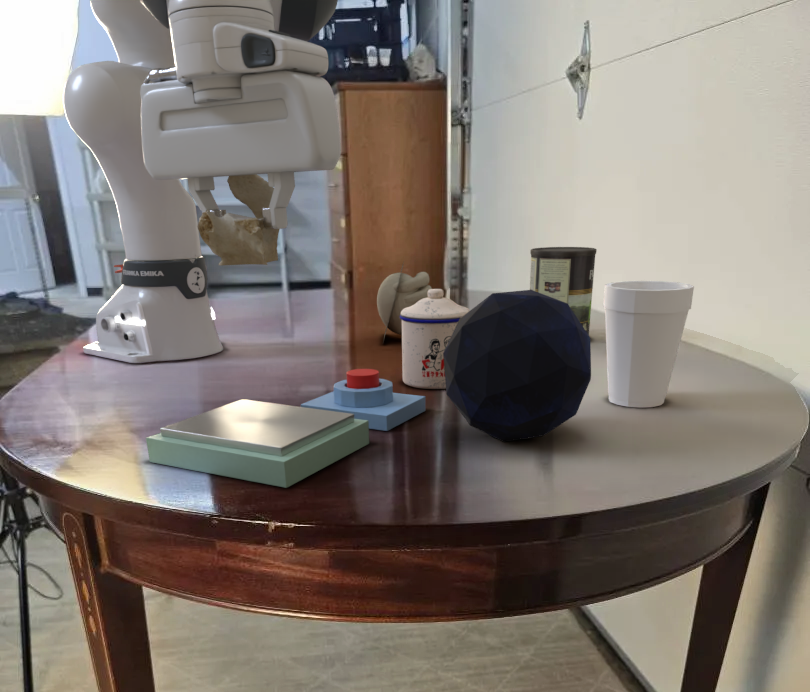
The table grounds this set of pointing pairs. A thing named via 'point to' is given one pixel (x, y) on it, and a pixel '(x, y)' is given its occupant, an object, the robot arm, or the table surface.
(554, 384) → the decorative orb
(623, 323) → the foam cup
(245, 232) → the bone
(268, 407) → the scale
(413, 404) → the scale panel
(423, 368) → the teacup with lid
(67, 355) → the table surface
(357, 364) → the table surface
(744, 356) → the table surface
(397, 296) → the decorative object
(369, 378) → the button
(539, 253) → the coffee can
